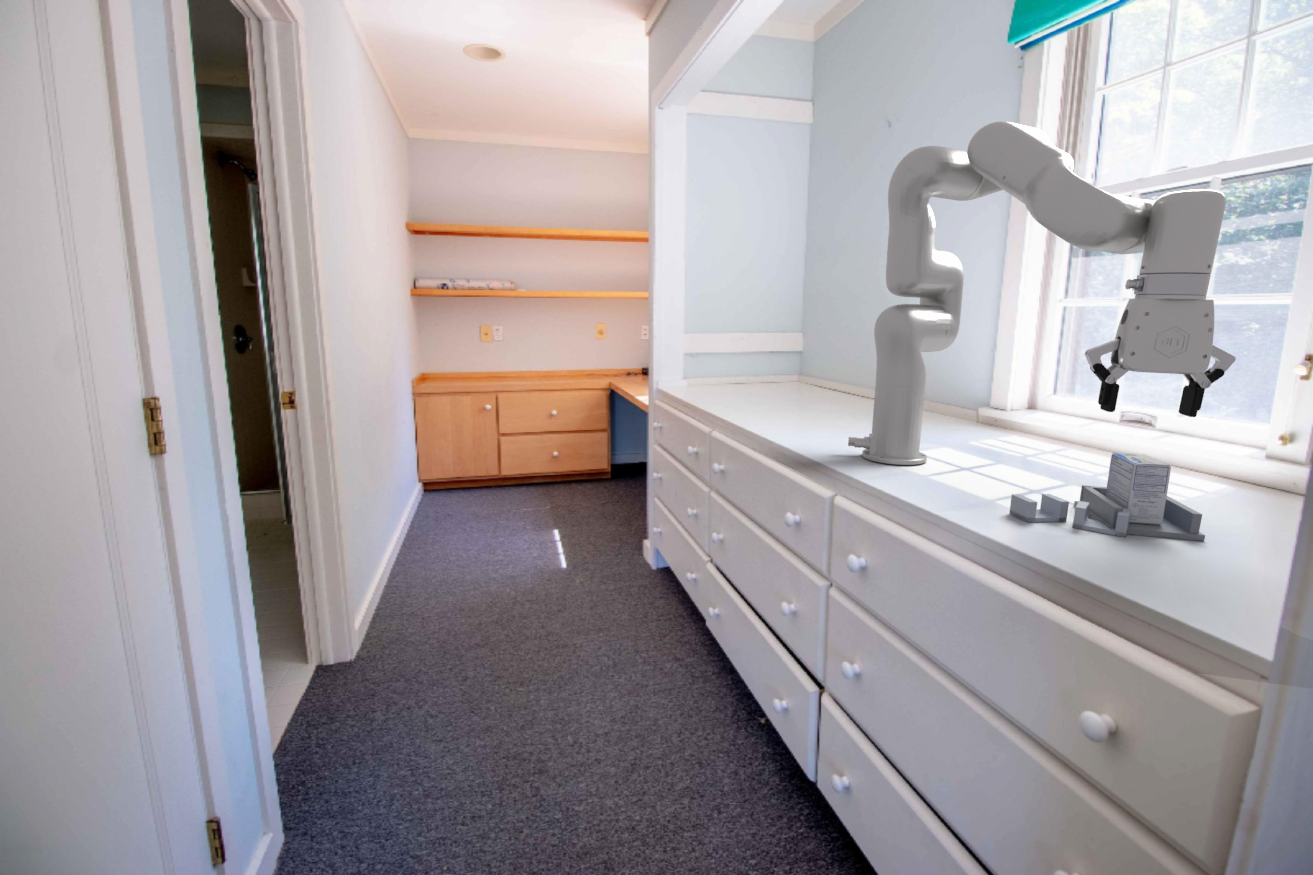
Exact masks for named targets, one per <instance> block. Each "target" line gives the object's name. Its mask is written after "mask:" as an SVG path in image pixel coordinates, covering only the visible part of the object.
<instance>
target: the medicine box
mask: <svg viewBox="0 0 1313 875" xmlns="http://www.w3.org/2000/svg"><path fill="white" fill-rule="evenodd" d="M1109 462H1110V463H1109V470H1108V477H1107V482H1106V483H1107V484H1106V487H1107V489H1106V497H1107V498H1109V499H1110V500H1112V501H1113V502H1115V503H1116V504H1118V505H1119V506H1121V507H1123V508H1125V509H1131V514H1130V520H1129V523H1138V524H1150V525H1161V524H1162V523H1163V517H1164V510H1165V503H1166V497H1167V496H1168V490H1169V483H1170V477H1171V476H1170V475H1171V470H1172V469H1171V468H1172V466H1171V465H1170V464H1167V463H1166V462H1164V461H1161V460H1159V459H1157V458H1155V457H1152V456H1149V455H1147V454H1145V453H1144V454H1143V453H1142V454H1141V453H1133V452H1132V453H1131V452H1115V453H1114V452H1113V453H1112V454H1111V456H1110V461H1109Z"/></svg>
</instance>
